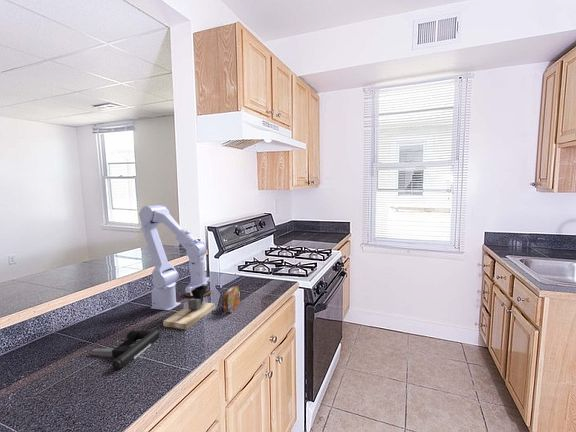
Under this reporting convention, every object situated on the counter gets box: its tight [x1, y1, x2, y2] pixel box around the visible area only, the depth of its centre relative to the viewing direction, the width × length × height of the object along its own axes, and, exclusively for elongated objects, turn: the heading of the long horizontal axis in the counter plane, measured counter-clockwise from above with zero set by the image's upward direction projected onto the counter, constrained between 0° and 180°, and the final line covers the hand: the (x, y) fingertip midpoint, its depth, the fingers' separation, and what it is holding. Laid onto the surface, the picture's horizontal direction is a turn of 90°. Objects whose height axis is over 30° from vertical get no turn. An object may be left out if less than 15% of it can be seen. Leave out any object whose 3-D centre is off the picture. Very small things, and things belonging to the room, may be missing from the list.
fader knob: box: [187, 297, 201, 310], centre depth 125 cm, size 4×3×4 cm
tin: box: [222, 285, 242, 313], centre depth 130 cm, size 15×3×8 cm, turn 168°
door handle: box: [91, 329, 161, 370], centre depth 98 cm, size 3×20×16 cm
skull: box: [185, 284, 212, 298], centre depth 148 cm, size 12×10×10 cm
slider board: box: [163, 301, 216, 330], centre depth 123 cm, size 10×20×2 cm, turn 163°
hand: (199, 303), depth 128 cm, fingers closed
